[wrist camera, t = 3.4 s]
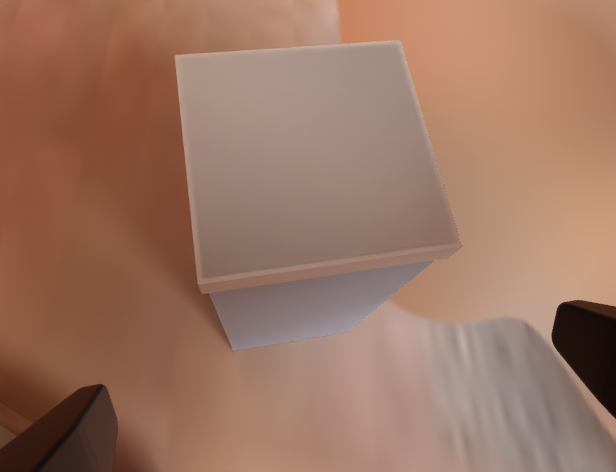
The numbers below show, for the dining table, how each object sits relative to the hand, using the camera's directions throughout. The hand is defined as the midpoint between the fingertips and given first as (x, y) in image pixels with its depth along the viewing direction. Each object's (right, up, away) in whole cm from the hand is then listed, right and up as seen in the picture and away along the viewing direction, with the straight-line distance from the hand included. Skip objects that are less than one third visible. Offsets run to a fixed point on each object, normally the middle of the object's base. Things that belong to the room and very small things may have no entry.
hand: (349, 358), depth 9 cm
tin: (-2, 0, +13) cm, 13 cm away
